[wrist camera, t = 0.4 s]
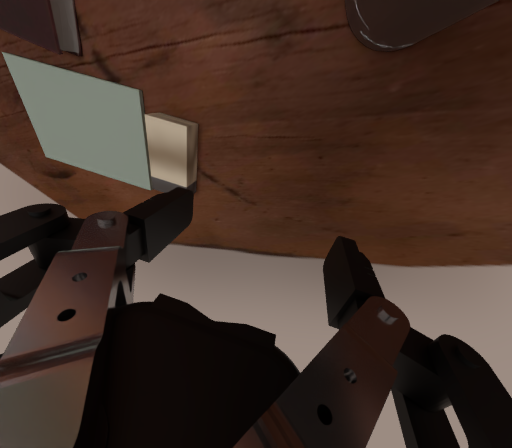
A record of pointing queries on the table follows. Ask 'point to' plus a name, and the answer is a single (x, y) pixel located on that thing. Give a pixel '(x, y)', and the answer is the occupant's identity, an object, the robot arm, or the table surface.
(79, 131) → the rubber mat
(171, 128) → the cream rectangular block
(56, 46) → the book
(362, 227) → the table surface
